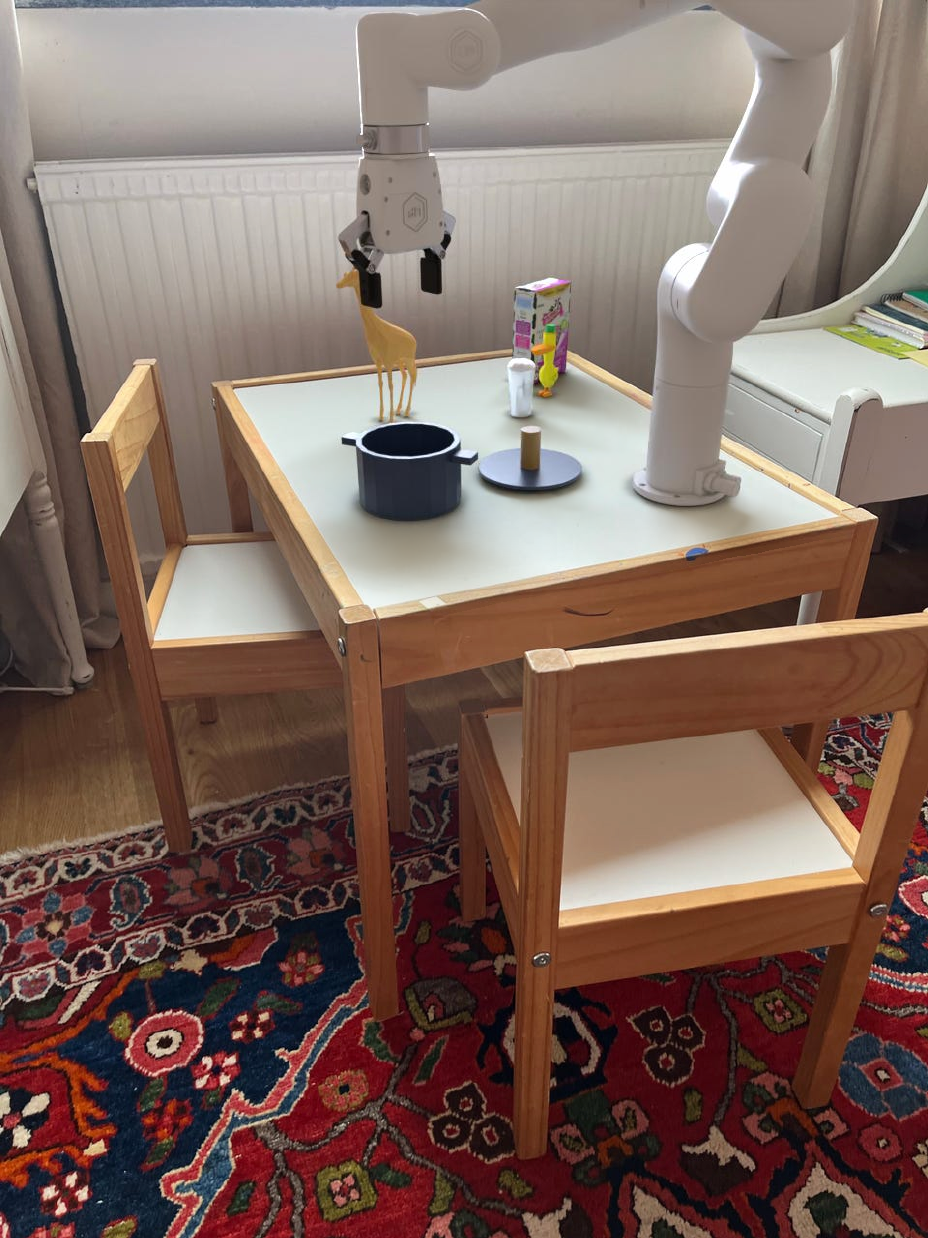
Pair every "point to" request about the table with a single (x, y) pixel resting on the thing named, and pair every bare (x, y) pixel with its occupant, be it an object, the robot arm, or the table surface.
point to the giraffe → (385, 346)
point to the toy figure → (547, 359)
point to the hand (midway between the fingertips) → (402, 299)
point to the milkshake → (521, 386)
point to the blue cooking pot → (409, 469)
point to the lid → (530, 465)
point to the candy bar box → (541, 320)
